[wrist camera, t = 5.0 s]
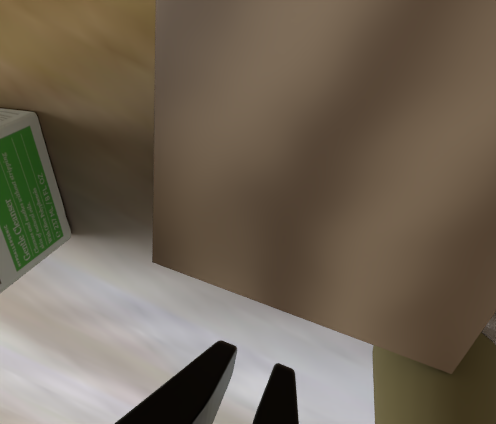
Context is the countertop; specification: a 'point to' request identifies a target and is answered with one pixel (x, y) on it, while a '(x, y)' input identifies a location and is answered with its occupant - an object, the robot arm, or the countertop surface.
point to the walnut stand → (333, 162)
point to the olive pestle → (436, 388)
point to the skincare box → (26, 198)
